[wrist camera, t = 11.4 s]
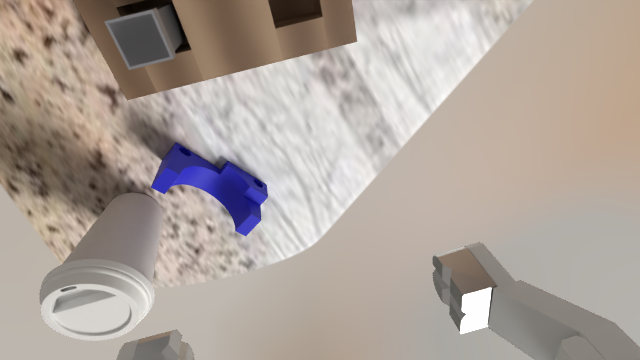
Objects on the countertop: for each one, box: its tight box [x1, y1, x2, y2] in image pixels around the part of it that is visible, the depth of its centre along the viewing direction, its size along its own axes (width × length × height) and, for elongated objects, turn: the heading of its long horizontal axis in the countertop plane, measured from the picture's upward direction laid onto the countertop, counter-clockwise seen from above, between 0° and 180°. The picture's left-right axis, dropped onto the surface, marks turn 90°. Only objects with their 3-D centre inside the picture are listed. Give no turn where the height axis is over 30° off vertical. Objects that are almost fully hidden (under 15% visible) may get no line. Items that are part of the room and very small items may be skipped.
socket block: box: [73, 0, 357, 100], centre depth 31 cm, size 22×10×5 cm, turn 101°
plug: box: [104, 2, 186, 70], centre depth 28 cm, size 3×3×9 cm
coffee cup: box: [40, 193, 164, 340], centre depth 37 cm, size 10×10×15 cm
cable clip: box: [151, 143, 268, 236], centre depth 40 cm, size 12×4×6 cm, turn 47°
